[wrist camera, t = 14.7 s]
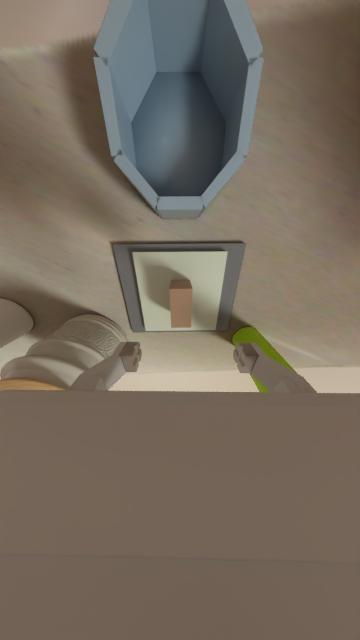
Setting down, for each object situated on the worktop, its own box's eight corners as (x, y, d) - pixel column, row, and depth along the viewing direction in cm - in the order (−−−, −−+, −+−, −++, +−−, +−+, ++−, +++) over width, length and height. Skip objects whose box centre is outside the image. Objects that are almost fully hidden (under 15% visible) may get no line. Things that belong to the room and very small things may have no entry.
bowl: (240, 62, 13) (284, -65, 7) (221, 219, 19) (238, 209, 13) (115, 62, 12) (70, -68, 7) (136, 219, 18) (120, 209, 13)
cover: (225, 251, 20) (242, 253, 15) (214, 327, 27) (222, 346, 22) (134, 251, 20) (119, 254, 15) (146, 328, 27) (139, 348, 22)
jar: (95, 365, 33) (24, 468, 18) (52, 325, 27) (-110, 430, 12) (139, 350, 31) (102, 453, 16) (104, 302, 25) (-16, 397, 9)
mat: (244, 243, 20) (246, 243, 20) (226, 329, 28) (227, 331, 28) (114, 244, 20) (112, 244, 19) (133, 330, 28) (132, 332, 27)
